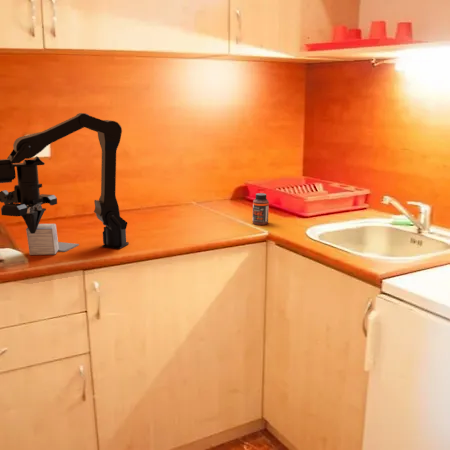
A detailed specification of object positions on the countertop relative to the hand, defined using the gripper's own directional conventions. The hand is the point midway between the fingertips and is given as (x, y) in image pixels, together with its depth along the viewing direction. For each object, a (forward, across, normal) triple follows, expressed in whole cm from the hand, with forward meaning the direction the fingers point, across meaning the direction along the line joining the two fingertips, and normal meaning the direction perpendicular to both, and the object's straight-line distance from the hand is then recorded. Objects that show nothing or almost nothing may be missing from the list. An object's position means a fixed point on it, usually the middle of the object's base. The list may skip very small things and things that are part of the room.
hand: (32, 233), depth 160 cm
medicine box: (+7, -4, 0) cm, 9 cm away
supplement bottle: (+8, -62, +54) cm, 83 cm away
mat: (+7, -11, +1) cm, 14 cm away
